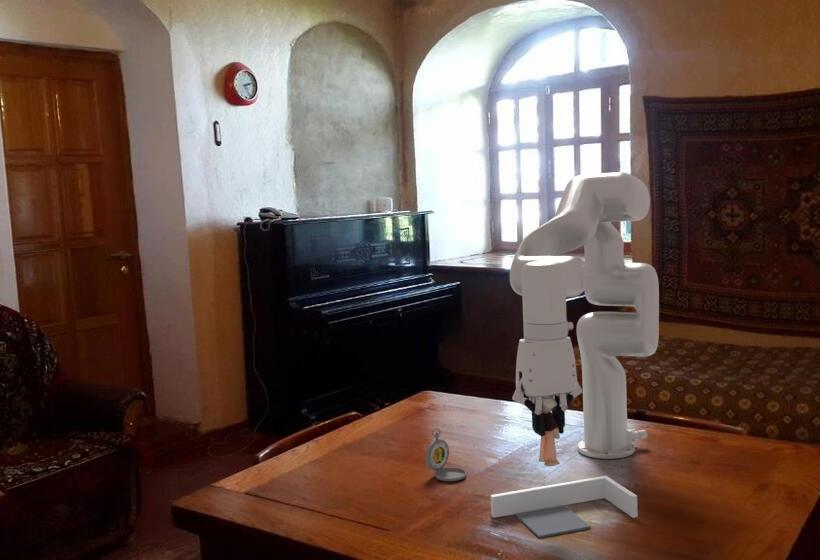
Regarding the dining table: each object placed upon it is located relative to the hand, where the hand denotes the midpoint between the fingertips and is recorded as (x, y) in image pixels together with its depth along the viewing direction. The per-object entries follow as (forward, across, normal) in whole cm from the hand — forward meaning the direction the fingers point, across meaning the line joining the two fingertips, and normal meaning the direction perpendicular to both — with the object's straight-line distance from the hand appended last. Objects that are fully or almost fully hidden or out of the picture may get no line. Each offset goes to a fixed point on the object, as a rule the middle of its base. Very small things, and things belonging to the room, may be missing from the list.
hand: (548, 431), depth 143 cm
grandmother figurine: (+6, 0, 0) cm, 6 cm away
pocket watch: (+17, +10, -30) cm, 36 cm away
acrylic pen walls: (+17, -3, -2) cm, 17 cm away
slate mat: (+17, 0, 0) cm, 17 cm away
